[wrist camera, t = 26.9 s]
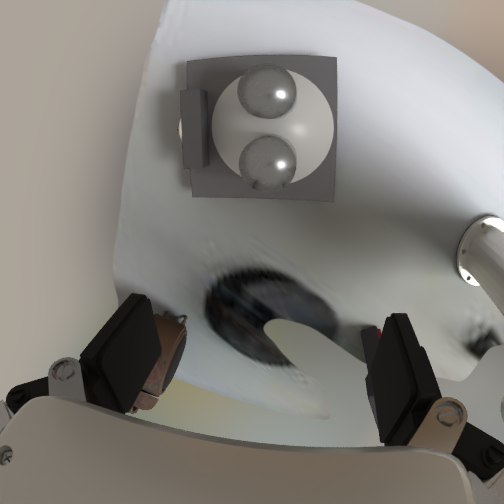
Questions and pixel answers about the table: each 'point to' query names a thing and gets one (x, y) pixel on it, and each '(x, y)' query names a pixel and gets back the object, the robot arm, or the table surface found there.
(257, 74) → the cylinder
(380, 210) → the table surface
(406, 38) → the table surface
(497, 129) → the table surface
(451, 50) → the table surface
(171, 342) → the alarm clock
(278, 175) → the cylinder
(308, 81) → the scale
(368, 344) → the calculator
